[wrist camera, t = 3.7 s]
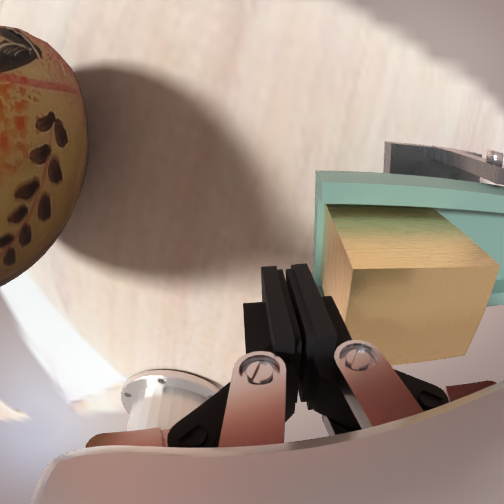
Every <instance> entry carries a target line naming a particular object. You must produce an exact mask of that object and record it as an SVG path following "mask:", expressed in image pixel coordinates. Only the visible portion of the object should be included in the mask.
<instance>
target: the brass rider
mask: <svg viewBox="0 0 504 504" xmlns="http://www.w3.org/2000/svg"><path fill="white" fill-rule="evenodd" d="M499 268H500V265H499V264H498V263H497V262H496V261H495V260H494V259H492V258H491V257H490V256H489V255H488V254H487V253H486V252H485V251H484V250H483V249H482V248H480V247H479V246H478V245H477V244H476V243H475V242H474V241H473V240H471V239H470V238H469V237H468V236H467V235H466V234H464V233H463V232H462V231H461V230H460V229H458V228H457V227H456V226H455V225H454V224H452V223H451V222H450V221H449V220H447V219H446V218H445V217H444V216H442V215H441V214H440V213H438V212H437V211H436V210H435V209H433V208H432V207H413V206H392V205H362V204H324V225H323V245H322V262H321V282H322V287H323V292H324V296H332V298H333V299H334V302H335V304H336V306H337V308H338V310H339V312H340V314H341V316H342V318H343V321H344V323H345V325H346V327H347V329H348V331H349V334H350V336H351V338H352V340H363V341H366V342H369V343H371V344H373V345H375V346H376V347H377V348H378V349H379V350H380V352H381V353H382V354H383V356H384V357H385V358H386V360H387V361H388V362H389V364H390V365H398V364H408V363H416V362H424V361H432V360H438V359H445V358H451V357H457V356H463V355H465V353H466V351H467V349H468V347H469V345H470V343H471V341H472V339H473V336H474V334H475V332H476V330H477V327H478V325H479V323H480V321H481V318H482V315H483V313H484V311H485V308H486V306H487V303H488V300H489V298H490V295H491V292H492V289H493V286H494V283H495V280H496V277H497V274H498V271H499Z"/></svg>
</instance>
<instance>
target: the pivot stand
mask: <svg viewBox="0 0 504 504" xmlns="http://www.w3.org/2000/svg"><path fill="white" fill-rule="evenodd" d="M502 162H503V153H500V152H497V151H493V150H488V149H487V158H486V159H484V158H482V155H481V154H478V153H475V152H469V151H462V150H456V149H451V148H444V147H436V146H426V145H417V144H407V143H396V142H385V155H384V173H388V174H402V175H415V176H426V177H436V178H445V179H454V180H462V181H470V182H478V183H479V178H480V177H482V178H484V179H487V180H489V181H491V182H494V183H496V184H502V185H504V165H502Z"/></svg>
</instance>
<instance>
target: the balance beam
mask: <svg viewBox="0 0 504 504" xmlns="http://www.w3.org/2000/svg"><path fill="white" fill-rule="evenodd" d="M324 204H362V205H392V206H413V207H432V208H433V209H435V210H436V211H437V212H438V213H440V214H441V215H442V216H444V217H445V218H446V219H447V220H449V221H450V222H451V223H452V224H454V225H455V226H456V227H457V228H458V229H460V230H461V231H462V232H463V233H464V234H466V235H467V236H468V237H469V238H470V239H471V240H473V241H474V242H475V243H476V244H477V245H478V246H479V247H480V248H482V249H483V250H484V251H485V252H486V253H487V254H488V255H489V256H490V257H491V258H492V259H494V260H495V261H496V262H497V263H498V264H499V265H500V268H499V271H498V274H497V277H496V280H495V283H494V286H493V289H492V292H491V295H490V298H489V300H488V303H487V306H495V305H503V304H504V186H498V185H491V184H485V183H478V182H470V181H462V180H454V179H445V178H436V177H426V176H415V175H402V174H388V173H371V172H349V171H316V183H315V225H314V250H313V270H312V276H313V279H314V281H315V283H316V286H317V288H318V290H319V292H320V295H321V297H323V296H324V292H323V287H322V282H321V262H322V245H323V225H324ZM487 306H486V307H487Z"/></svg>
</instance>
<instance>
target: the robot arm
mask: <svg viewBox="0 0 504 504" xmlns="http://www.w3.org/2000/svg"><path fill="white" fill-rule="evenodd" d="M261 279H262V302H257V303H243V309H244V327H245V345H246V355H244V356H242V357H241V358H239V360H238V361H237V362H236V363H235V366H234V368H233V373H232V378H231V382H230V383H228V384H227V385H226V386H225V387H223V388H222V389H221V390H220V389H218V388H217V387H216V386H214V385H213V384H211V383H210V382H208V381H206V380H204V379H202V378H199V377H197V376H194V375H191V374H187V373H184V372H179V371H172V370H150V371H145V372H141V373H138V374H136V375H133V376H132V377H130V378H129V379H128V380H127V381H126V382H125V384H124V386H123V389H122V392H121V401H122V404H123V406H124V408H125V409H126V411H127V412H128V413H129V414H130V417H129V420H128V425H127V429H126V431H125V432H114V433H102V434H98V435H95V436H94V437H92V438H91V439H90V440H89V442H88V443H87V444H86V448H83V449H79V450H74V451H71V452H67V453H65V454H62V455H60V456H58V457H57V458H55V459H53V460H52V461H51V462H50V463H49V464H48V466H47V467H46V468H45V470H44V472H43V474H42V475H41V477H40V479H39V482H38V484H37V487H36V489H35V492H34V495H33V497H32V500H31V504H504V381H502V382H499V383H496V382H494V381H482V382H476V383H470V384H462V385H454V386H446V387H445V388H444V390H442V389H441V388H439V387H437V386H435V385H433V384H430V383H428V382H425V381H422V380H419V379H417V378H415V377H412V376H410V375H406V374H405V373H402V372H400V371H397V370H394V369H393V368H392V366H391V365H390V364H389V362H388V361H387V360H386V358H385V357H384V356H383V354H382V353H381V352H380V350H379V349H378V348H377V347H376V346H375V345H373V344H371V343H369V342H366V341H363V340H352V338H351V336H350V334H349V331H348V329H347V327H346V325H345V323H344V321H343V318H342V316H341V314H340V312H339V310H338V308H337V306H336V304H335V302H334V299H333V298H332V296H323V297H321V295H320V292H319V290H318V288H317V286H316V283H315V281H314V279H313V276H312V274H311V272H310V270H309V267H308V265H307V264H294V265H291V269H286V281H285V277H284V274H283V270H282V269H280V270H277V267H276V266H268V267H261ZM298 391H299V396H300V400H301V402H307V406H308V410H311V409H314V411H316V412H318V413H320V414H322V419H323V423H324V425H325V427H326V429H327V431H328V433H329V436H328V437H322V438H316V439H310V440H303V441H296V442H288V443H284V429H285V422H286V421H287V420H288V419H289V418H290V417H291V416H292V414H294V411H295V403H297V396H298Z"/></svg>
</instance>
